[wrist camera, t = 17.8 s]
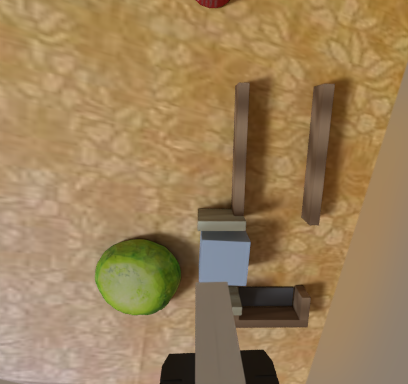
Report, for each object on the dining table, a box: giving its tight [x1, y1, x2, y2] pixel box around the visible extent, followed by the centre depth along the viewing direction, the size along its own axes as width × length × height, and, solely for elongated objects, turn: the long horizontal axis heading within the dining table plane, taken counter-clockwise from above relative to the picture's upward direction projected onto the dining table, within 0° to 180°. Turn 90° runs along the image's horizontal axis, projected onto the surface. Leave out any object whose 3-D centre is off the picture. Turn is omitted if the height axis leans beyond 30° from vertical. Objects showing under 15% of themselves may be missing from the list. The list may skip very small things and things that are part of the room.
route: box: [198, 83, 335, 328], centre depth 37 cm, size 32×15×5 cm, turn 179°
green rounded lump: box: [95, 239, 181, 315], centre depth 39 cm, size 12×11×5 cm
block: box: [199, 231, 251, 286], centre depth 38 cm, size 6×6×5 cm
